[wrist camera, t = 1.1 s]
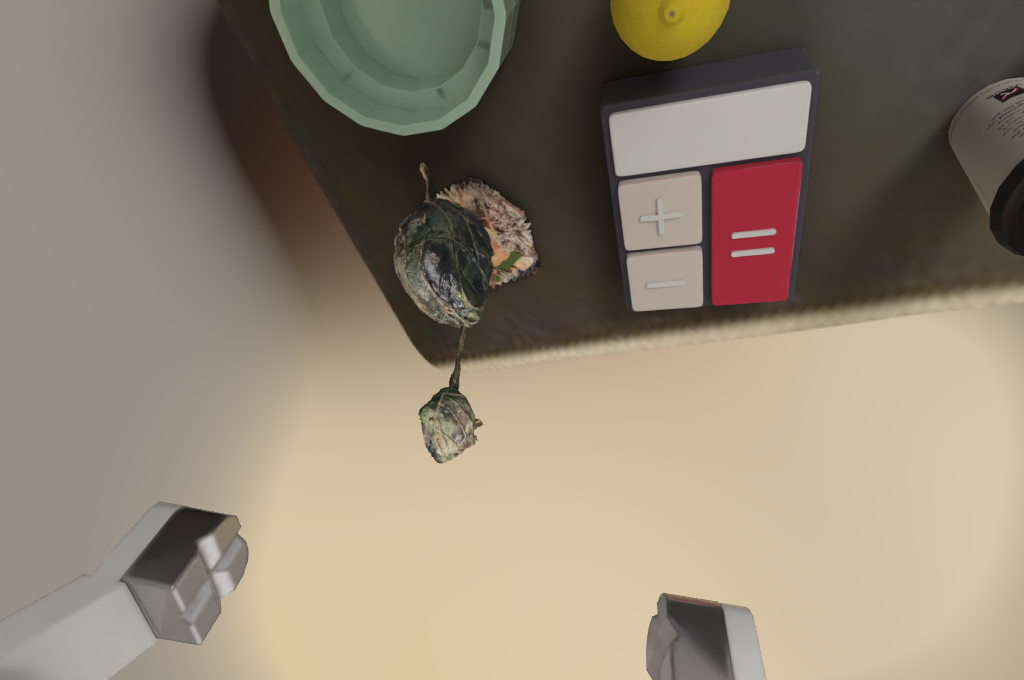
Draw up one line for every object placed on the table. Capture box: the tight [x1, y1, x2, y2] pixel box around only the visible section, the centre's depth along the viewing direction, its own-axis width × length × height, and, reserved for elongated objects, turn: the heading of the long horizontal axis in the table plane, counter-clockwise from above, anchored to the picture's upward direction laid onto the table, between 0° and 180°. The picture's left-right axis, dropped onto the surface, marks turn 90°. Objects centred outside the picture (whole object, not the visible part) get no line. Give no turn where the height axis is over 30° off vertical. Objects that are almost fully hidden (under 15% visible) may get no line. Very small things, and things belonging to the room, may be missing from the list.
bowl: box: [269, 0, 520, 136], centre depth 30 cm, size 12×12×5 cm
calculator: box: [600, 47, 821, 311], centre depth 35 cm, size 11×4×15 cm
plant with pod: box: [394, 163, 541, 463], centre depth 34 cm, size 8×11×20 cm
